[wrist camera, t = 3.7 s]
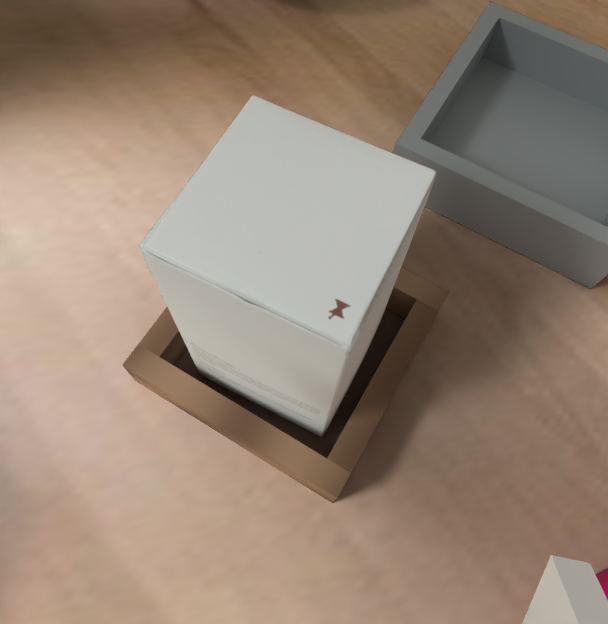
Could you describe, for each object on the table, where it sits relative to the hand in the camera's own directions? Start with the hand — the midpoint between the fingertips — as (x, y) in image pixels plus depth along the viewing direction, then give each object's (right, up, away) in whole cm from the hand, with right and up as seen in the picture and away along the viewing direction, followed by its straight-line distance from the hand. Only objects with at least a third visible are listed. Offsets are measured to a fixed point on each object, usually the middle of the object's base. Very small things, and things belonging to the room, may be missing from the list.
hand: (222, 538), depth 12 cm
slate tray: (+15, +14, +23) cm, 31 cm away
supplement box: (+1, +3, +18) cm, 18 cm away
